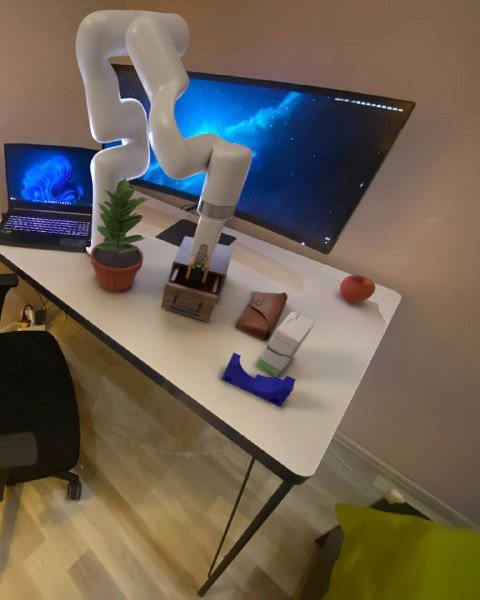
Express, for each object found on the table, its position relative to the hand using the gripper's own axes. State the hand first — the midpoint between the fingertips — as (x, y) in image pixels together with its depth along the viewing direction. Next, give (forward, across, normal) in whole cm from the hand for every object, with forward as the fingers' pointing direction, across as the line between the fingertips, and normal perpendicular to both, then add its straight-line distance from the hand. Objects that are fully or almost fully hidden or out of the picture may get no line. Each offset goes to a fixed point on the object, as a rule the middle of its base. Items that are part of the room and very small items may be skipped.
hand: (196, 274), depth 86 cm
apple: (+11, -23, +40) cm, 47 cm away
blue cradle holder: (+11, +19, +18) cm, 29 cm away
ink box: (+11, +10, +22) cm, 27 cm away
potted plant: (+11, -2, -22) cm, 25 cm away
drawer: (+10, +1, 0) cm, 10 cm away
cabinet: (+10, -12, 0) cm, 16 cm away
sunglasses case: (+11, -5, +18) cm, 21 cm away
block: (0, 0, 0) cm, 0 cm away
